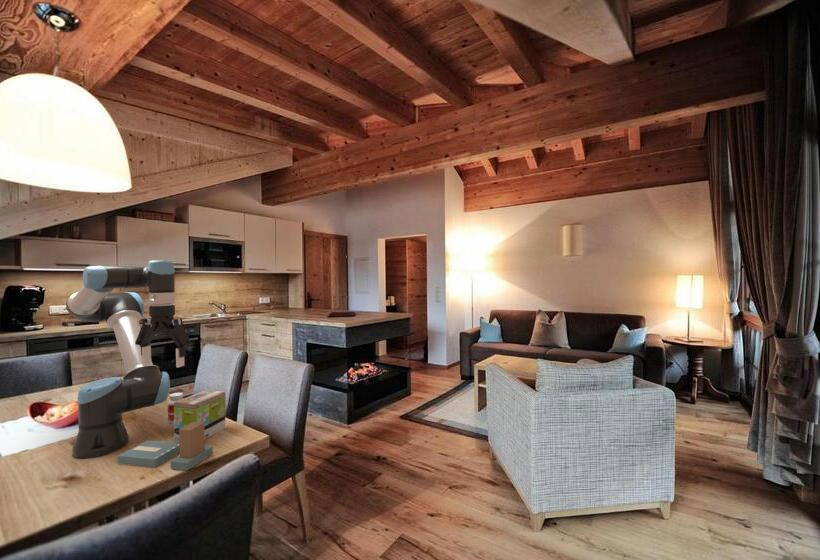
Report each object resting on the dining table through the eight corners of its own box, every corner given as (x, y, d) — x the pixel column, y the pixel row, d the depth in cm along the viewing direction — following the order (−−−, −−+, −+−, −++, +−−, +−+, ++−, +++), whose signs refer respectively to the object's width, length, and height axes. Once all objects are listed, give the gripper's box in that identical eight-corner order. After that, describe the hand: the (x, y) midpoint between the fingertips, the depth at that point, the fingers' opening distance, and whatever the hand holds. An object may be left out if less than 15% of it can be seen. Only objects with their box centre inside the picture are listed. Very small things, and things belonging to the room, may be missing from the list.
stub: (170, 468, 114) (169, 432, 114) (197, 451, 125) (196, 418, 125) (187, 470, 113) (186, 433, 113) (212, 453, 124) (212, 419, 124)
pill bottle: (164, 422, 151) (164, 395, 150) (179, 417, 156) (179, 391, 156) (173, 425, 148) (172, 397, 147) (188, 419, 153) (188, 393, 153)
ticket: (117, 463, 118) (117, 455, 118) (147, 447, 129) (147, 440, 128) (154, 467, 115) (154, 459, 115) (182, 450, 126) (182, 443, 126)
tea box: (197, 445, 130) (196, 403, 130) (173, 443, 132) (172, 402, 132) (226, 427, 145) (225, 390, 144) (204, 426, 147) (203, 389, 146)
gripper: (121, 305, 126) (123, 366, 127) (184, 306, 121) (186, 370, 122) (141, 303, 133) (142, 361, 134) (201, 304, 129) (202, 364, 129)
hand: (163, 365), depth 128 cm, fingers open, 13 cm apart
